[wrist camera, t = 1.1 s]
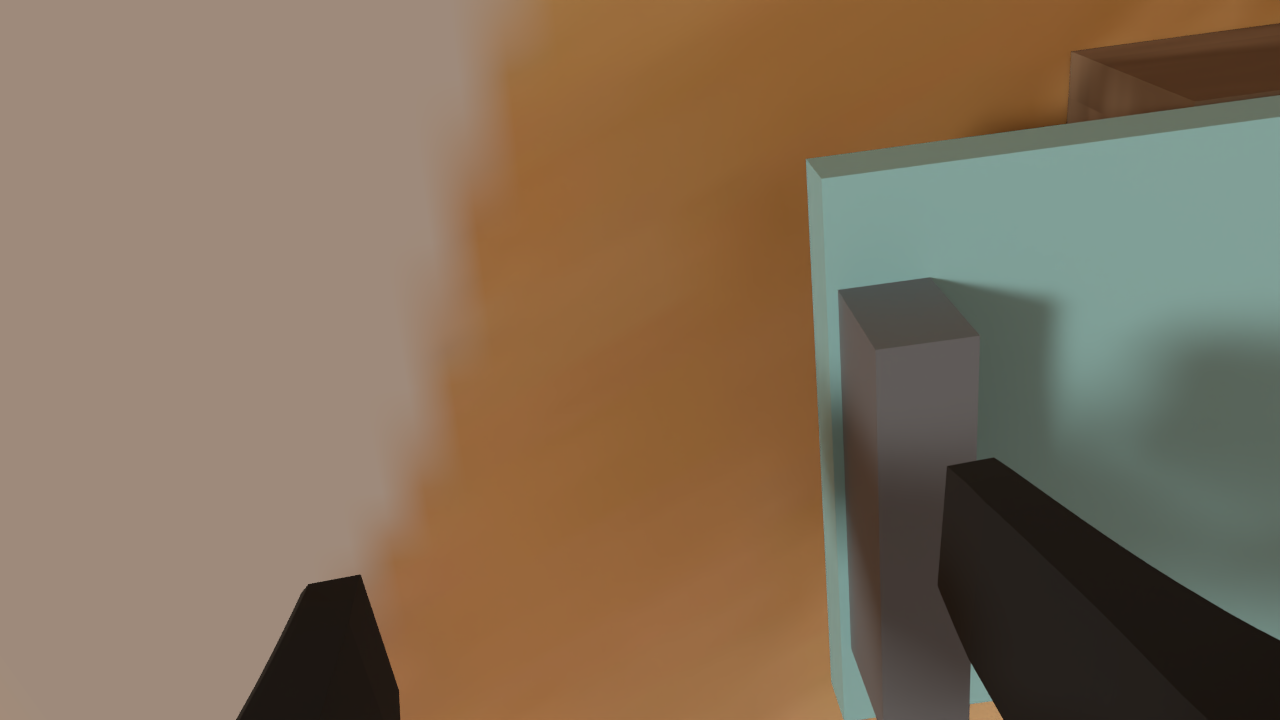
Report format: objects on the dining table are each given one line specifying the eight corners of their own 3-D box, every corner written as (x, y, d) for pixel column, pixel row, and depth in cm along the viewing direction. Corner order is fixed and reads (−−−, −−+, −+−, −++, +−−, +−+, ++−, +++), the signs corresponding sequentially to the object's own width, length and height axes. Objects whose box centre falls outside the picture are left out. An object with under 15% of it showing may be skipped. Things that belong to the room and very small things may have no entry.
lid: (1359, 607, 24) (1485, 727, 21) (831, 681, 24) (874, 814, 20) (1487, 66, 18) (1683, 114, 15) (805, 158, 18) (859, 226, 15)
